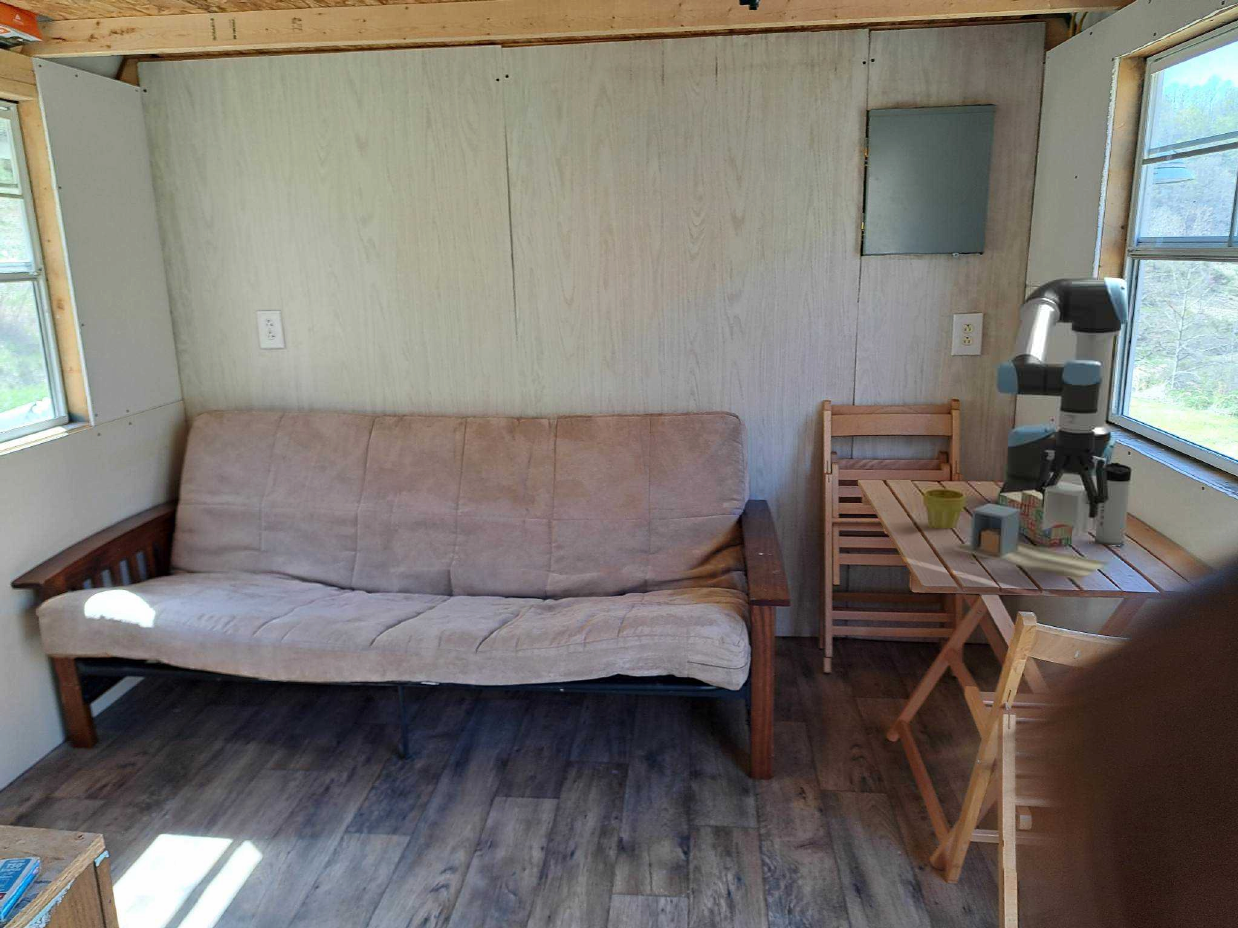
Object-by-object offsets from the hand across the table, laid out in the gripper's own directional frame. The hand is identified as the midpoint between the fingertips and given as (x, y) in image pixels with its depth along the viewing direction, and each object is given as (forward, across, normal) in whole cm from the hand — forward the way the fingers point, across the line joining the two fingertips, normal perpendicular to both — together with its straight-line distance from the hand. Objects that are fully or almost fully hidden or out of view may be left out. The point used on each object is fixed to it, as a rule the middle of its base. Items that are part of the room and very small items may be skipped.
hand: (1067, 526), depth 202 cm
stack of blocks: (+10, -15, +17) cm, 25 cm away
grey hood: (+1, 0, 0) cm, 1 cm away
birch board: (+10, -8, -1) cm, 13 cm away
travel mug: (+10, 0, +25) cm, 27 cm away
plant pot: (+10, -35, +7) cm, 37 cm away
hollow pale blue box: (+9, -16, -2) cm, 18 cm away
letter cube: (+9, -16, -2) cm, 18 cm away
